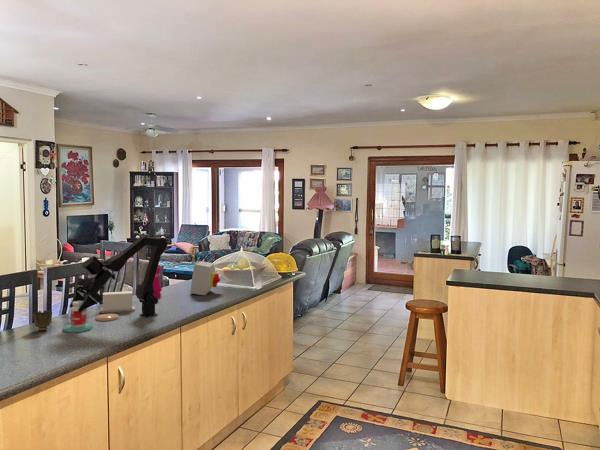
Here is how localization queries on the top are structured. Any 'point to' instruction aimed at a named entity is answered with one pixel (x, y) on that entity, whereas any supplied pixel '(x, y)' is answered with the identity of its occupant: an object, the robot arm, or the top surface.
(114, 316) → the terracotta plate
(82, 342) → the top surface
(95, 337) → the top surface
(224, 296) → the top surface
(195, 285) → the electrical switch box
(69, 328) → the teal plate
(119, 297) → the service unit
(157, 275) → the pepper mill
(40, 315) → the cup
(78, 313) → the pill bottle
